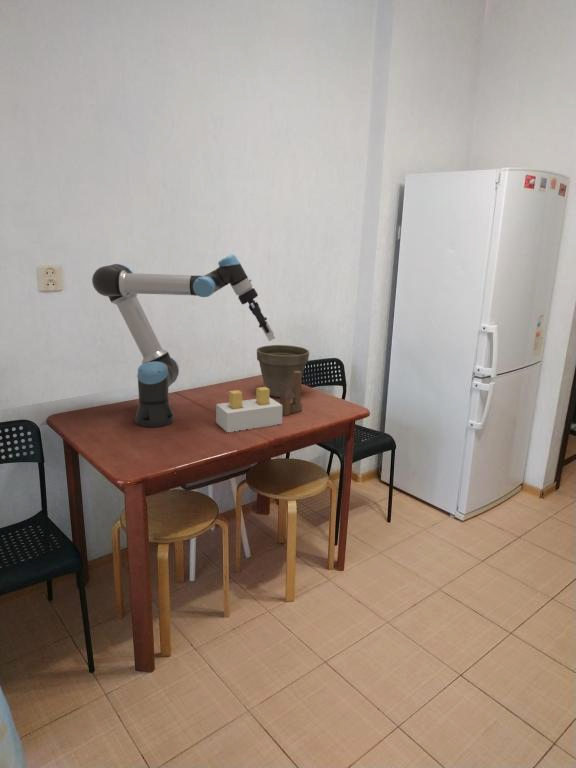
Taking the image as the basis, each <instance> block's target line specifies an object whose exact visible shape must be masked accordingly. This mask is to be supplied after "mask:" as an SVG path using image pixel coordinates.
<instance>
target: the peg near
mask: <svg viewBox="0 0 576 768" xmlns="http://www.w3.org/2000/svg"><path fill="white" fill-rule="evenodd" d="M228 401H229V402H228V403H229V407H230V408H231V409H239V408H242V401H243V392H242V391H241V390H239V389H237V390H235V389H234V390H229V391H228Z"/></svg>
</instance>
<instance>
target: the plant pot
mask: <svg viewBox="0 0 576 768" xmlns="http://www.w3.org/2000/svg"><path fill="white" fill-rule="evenodd" d="M309 355H310V350H309V349H307V348H304V347H301V346H296V345H289V344H288V345H287V344H285V345H284V344H270V345H264V346H263V345H262V346H260V347H257V348H256V359H257V361H258V362H259V367H260V371H261V377H262V381H263V385H264V386H263V387H266V388H268V389H270V396H271V397H274V398H279V394H280V383H283V384H286V385H287V387H288V388H289V389H290V390H291V391H292V392H293V372H294V371H301V372H302V376H303V374H304V371H305V368H306V364H307V363H308V361H309V357H310V356H309ZM301 379H302V377H301ZM270 396H269V397H270Z"/></svg>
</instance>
